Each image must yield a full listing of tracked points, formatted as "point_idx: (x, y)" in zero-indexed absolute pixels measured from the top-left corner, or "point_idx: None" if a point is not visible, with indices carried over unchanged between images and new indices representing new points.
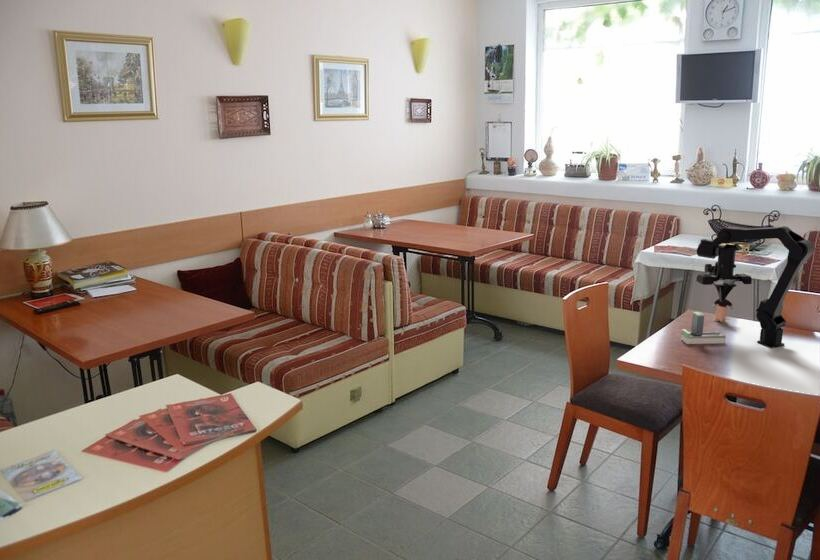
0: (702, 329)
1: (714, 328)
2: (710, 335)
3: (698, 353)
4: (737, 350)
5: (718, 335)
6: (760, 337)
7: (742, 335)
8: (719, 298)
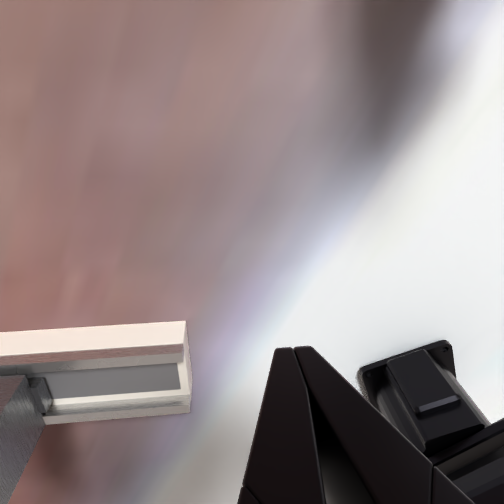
0: (25, 458)
1: (262, 105)
2: (100, 412)
3: (19, 483)
4: (208, 448)
5: (150, 410)
6: (393, 374)
7: (364, 263)
8: (267, 381)
